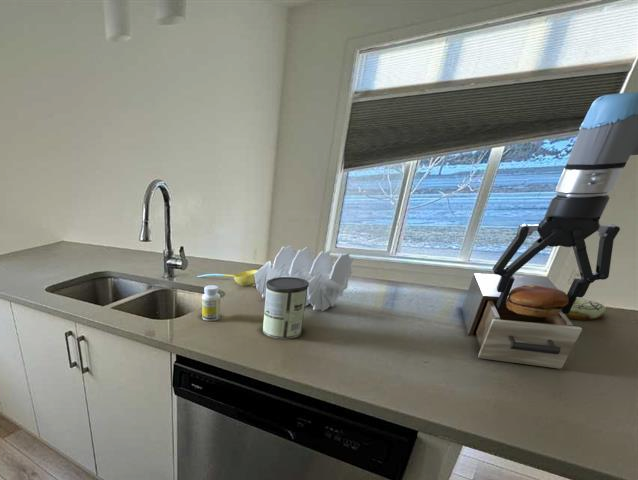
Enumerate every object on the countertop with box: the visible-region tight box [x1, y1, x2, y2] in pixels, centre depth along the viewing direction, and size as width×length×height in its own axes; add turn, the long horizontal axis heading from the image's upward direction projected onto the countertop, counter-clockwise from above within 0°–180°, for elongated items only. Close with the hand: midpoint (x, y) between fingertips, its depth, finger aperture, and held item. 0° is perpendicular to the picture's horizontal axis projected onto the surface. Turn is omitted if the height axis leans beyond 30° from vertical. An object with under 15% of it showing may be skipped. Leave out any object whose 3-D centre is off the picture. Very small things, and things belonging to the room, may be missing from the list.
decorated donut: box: [565, 297, 607, 321], centre depth 104 cm, size 10×11×4 cm
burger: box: [504, 285, 569, 317], centre depth 84 cm, size 10×9×5 cm
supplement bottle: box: [201, 284, 221, 322], centre depth 122 cm, size 5×5×10 cm
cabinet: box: [461, 273, 558, 337], centre depth 100 cm, size 20×15×11 cm
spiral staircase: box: [254, 244, 354, 311], centre depth 123 cm, size 18×18×25 cm
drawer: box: [475, 299, 583, 370], centre depth 88 cm, size 24×13×9 cm, turn 149°
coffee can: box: [262, 277, 309, 339], centre depth 107 cm, size 10×10×14 cm
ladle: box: [197, 269, 259, 287], centre depth 154 cm, size 9×26×6 cm, turn 44°
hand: (530, 308), depth 86 cm, fingers closed on burger, 10 cm apart
